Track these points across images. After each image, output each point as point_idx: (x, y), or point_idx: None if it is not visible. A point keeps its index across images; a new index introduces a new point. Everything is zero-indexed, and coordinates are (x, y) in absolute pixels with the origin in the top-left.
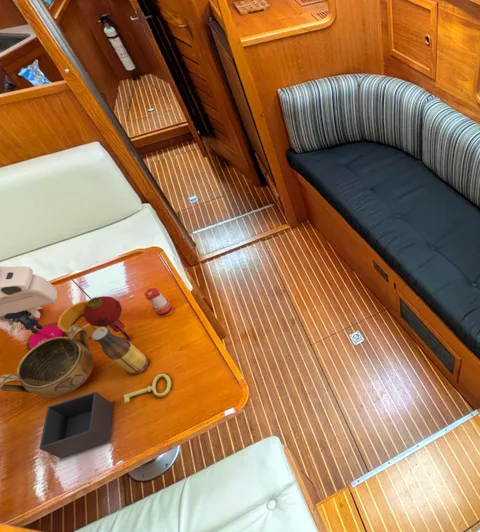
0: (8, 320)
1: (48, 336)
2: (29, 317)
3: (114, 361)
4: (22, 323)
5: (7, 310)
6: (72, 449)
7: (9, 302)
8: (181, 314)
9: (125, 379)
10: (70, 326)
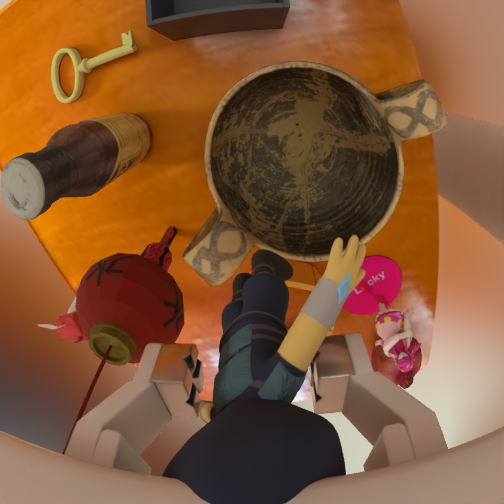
0: (349, 385)
1: (363, 286)
2: (183, 369)
3: (109, 122)
4: (269, 331)
5: None
6: None
7: None
8: (76, 263)
9: (153, 104)
10: None
